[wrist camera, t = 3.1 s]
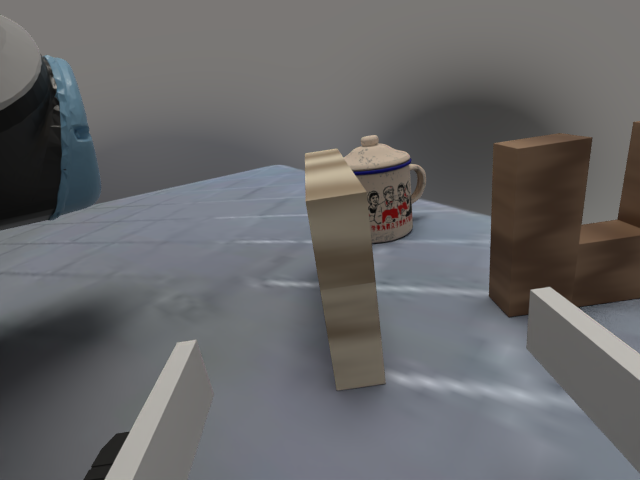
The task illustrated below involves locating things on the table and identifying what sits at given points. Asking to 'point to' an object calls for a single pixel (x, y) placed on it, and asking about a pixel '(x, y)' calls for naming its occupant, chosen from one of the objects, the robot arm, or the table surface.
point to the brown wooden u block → (559, 225)
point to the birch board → (344, 268)
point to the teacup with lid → (386, 187)
